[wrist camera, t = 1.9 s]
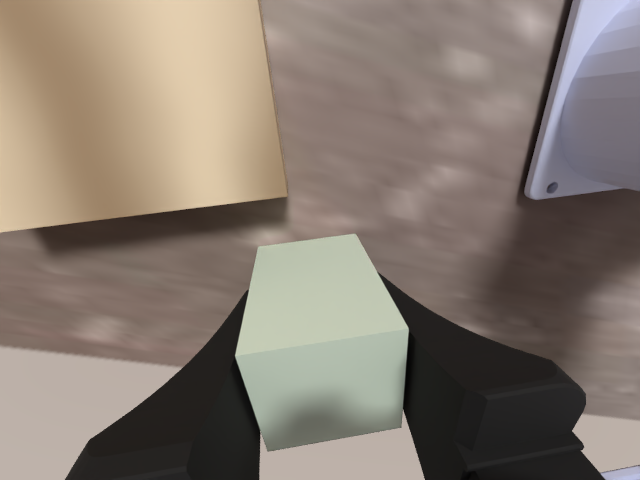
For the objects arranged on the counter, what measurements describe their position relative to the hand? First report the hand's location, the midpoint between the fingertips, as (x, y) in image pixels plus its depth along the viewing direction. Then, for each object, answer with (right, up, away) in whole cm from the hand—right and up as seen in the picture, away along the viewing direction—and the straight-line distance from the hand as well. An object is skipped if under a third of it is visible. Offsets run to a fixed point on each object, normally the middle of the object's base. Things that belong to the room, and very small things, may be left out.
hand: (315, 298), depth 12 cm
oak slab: (-6, +7, -3) cm, 10 cm away
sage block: (0, +1, +1) cm, 1 cm away
